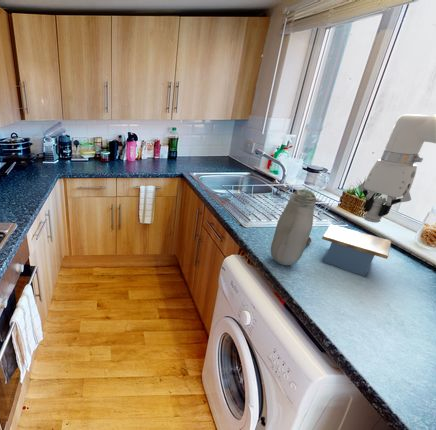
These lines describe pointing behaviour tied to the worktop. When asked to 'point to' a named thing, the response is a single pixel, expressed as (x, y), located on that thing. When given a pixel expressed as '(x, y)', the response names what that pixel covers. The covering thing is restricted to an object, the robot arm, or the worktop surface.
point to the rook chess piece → (375, 210)
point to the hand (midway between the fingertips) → (374, 212)
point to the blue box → (349, 258)
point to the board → (358, 241)
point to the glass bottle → (293, 228)
